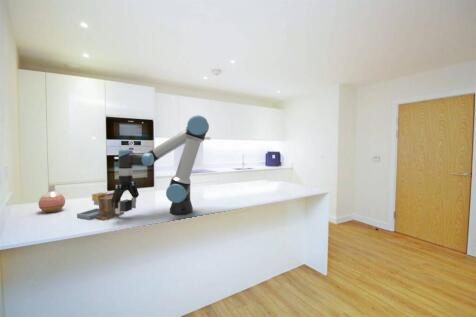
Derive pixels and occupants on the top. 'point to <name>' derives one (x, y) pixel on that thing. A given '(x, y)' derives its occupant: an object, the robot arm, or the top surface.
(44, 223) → the top surface
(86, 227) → the top surface
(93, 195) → the spacer
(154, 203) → the top surface
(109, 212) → the bearing block
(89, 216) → the tray
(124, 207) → the shaft
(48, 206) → the vase
